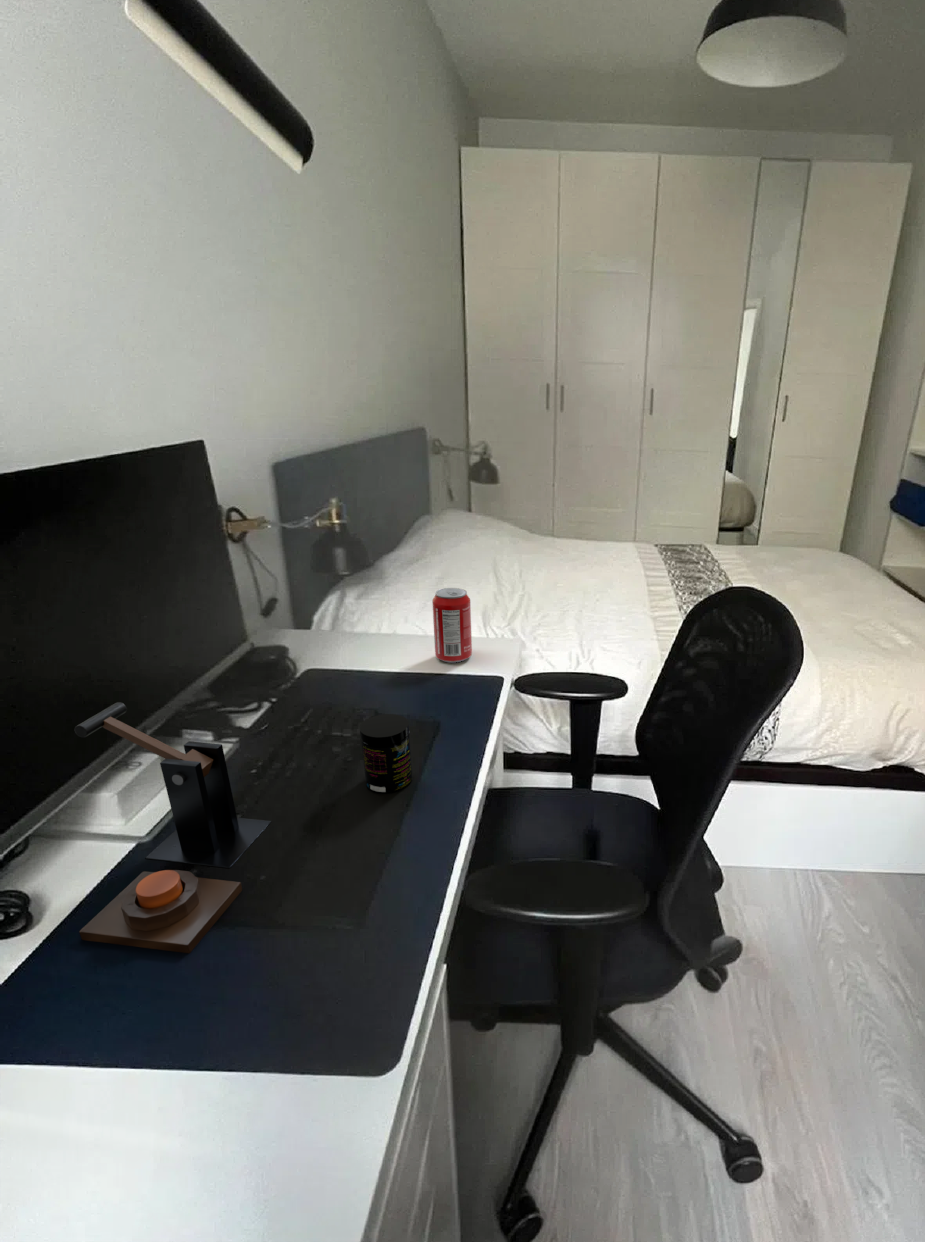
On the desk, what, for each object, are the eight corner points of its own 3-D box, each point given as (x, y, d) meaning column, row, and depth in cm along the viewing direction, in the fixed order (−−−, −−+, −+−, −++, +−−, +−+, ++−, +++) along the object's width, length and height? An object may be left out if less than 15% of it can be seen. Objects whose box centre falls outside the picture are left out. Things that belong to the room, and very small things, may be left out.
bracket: (146, 865, 79) (119, 769, 73) (195, 819, 87) (175, 730, 82) (231, 875, 78) (210, 778, 72) (273, 828, 86) (257, 738, 81)
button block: (84, 947, 67) (73, 918, 66) (147, 885, 76) (139, 858, 74) (191, 961, 66) (184, 931, 65) (244, 896, 75) (238, 869, 73)
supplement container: (420, 776, 98) (416, 716, 94) (403, 802, 92) (397, 739, 88) (378, 771, 99) (372, 711, 95) (358, 797, 93) (350, 734, 89)
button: (129, 907, 68) (126, 894, 67) (157, 880, 72) (153, 867, 71) (165, 911, 68) (161, 898, 67) (191, 884, 71) (187, 871, 71)
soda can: (446, 668, 135) (443, 600, 129) (428, 656, 141) (425, 590, 135) (478, 659, 140) (477, 593, 134) (460, 648, 145) (458, 584, 140)
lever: (72, 736, 74) (75, 720, 73) (113, 711, 80) (117, 697, 79) (186, 792, 76) (191, 778, 75) (218, 765, 81) (223, 751, 80)
